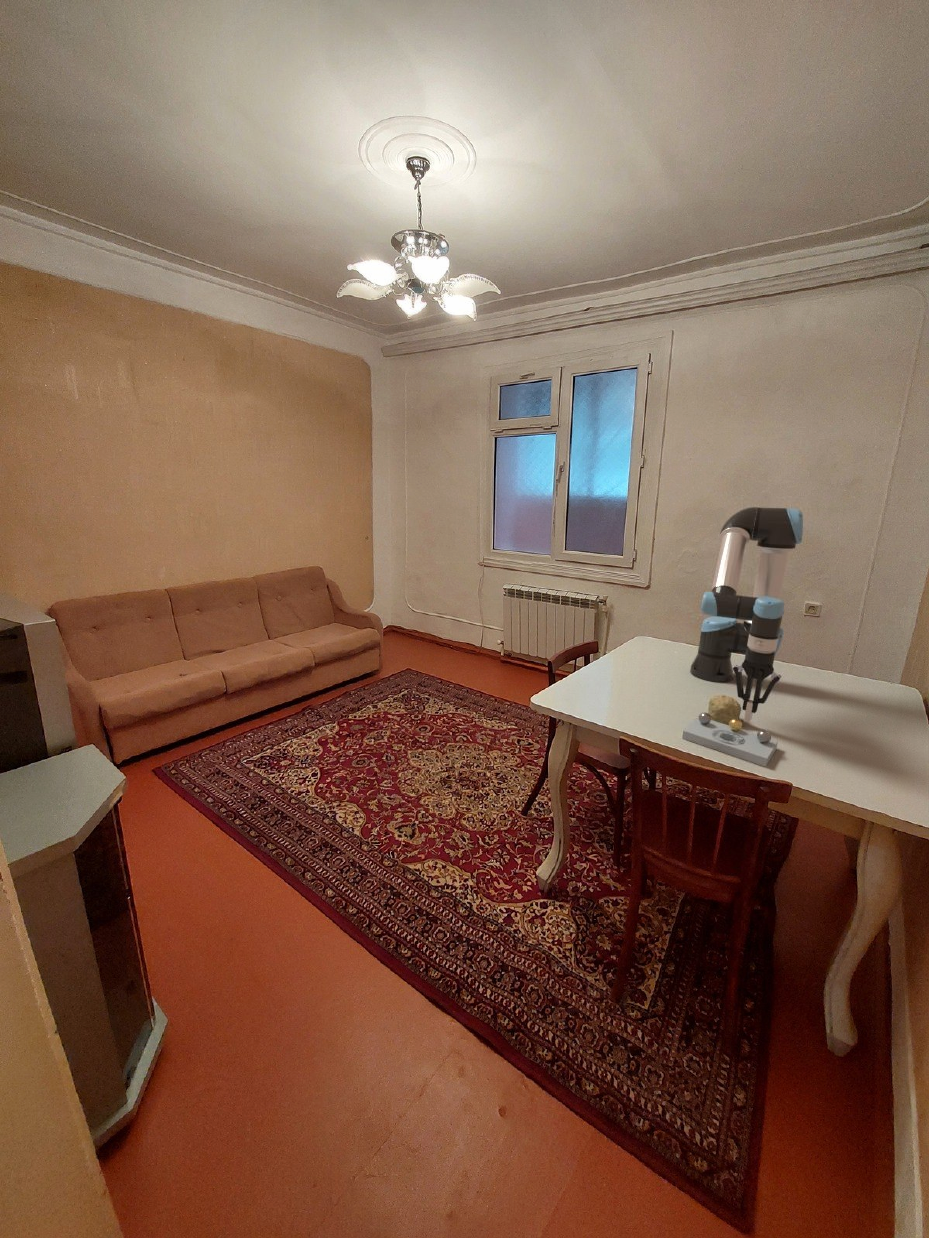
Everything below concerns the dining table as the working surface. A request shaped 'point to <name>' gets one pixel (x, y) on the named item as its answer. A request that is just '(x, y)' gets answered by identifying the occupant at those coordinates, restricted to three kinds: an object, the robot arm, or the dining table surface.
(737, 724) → the brass ball
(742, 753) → the grey flat block
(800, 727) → the dining table surface
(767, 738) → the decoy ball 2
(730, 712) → the decorative object
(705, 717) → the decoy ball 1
